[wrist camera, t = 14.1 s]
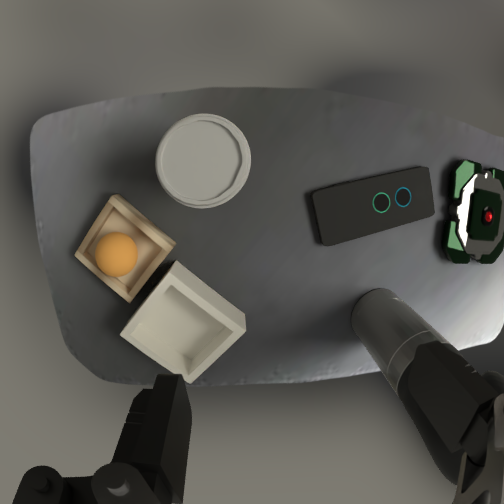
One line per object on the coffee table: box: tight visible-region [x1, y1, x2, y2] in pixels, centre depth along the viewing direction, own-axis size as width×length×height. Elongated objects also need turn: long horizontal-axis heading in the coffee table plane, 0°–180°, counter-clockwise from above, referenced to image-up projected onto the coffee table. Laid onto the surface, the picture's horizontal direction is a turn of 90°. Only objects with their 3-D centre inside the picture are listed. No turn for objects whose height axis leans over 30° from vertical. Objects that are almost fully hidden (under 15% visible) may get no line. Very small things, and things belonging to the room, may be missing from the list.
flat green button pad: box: [442, 159, 504, 264], centre depth 41 cm, size 18×18×5 cm
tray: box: [74, 194, 176, 303], centre depth 39 cm, size 11×11×2 cm
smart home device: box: [311, 167, 435, 246], centre depth 41 cm, size 8×2×20 cm
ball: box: [95, 232, 138, 277], centre depth 37 cm, size 6×6×6 cm
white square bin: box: [120, 260, 246, 384], centre depth 42 cm, size 13×13×5 cm
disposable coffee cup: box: [155, 114, 251, 208], centre depth 33 cm, size 10×10×12 cm
